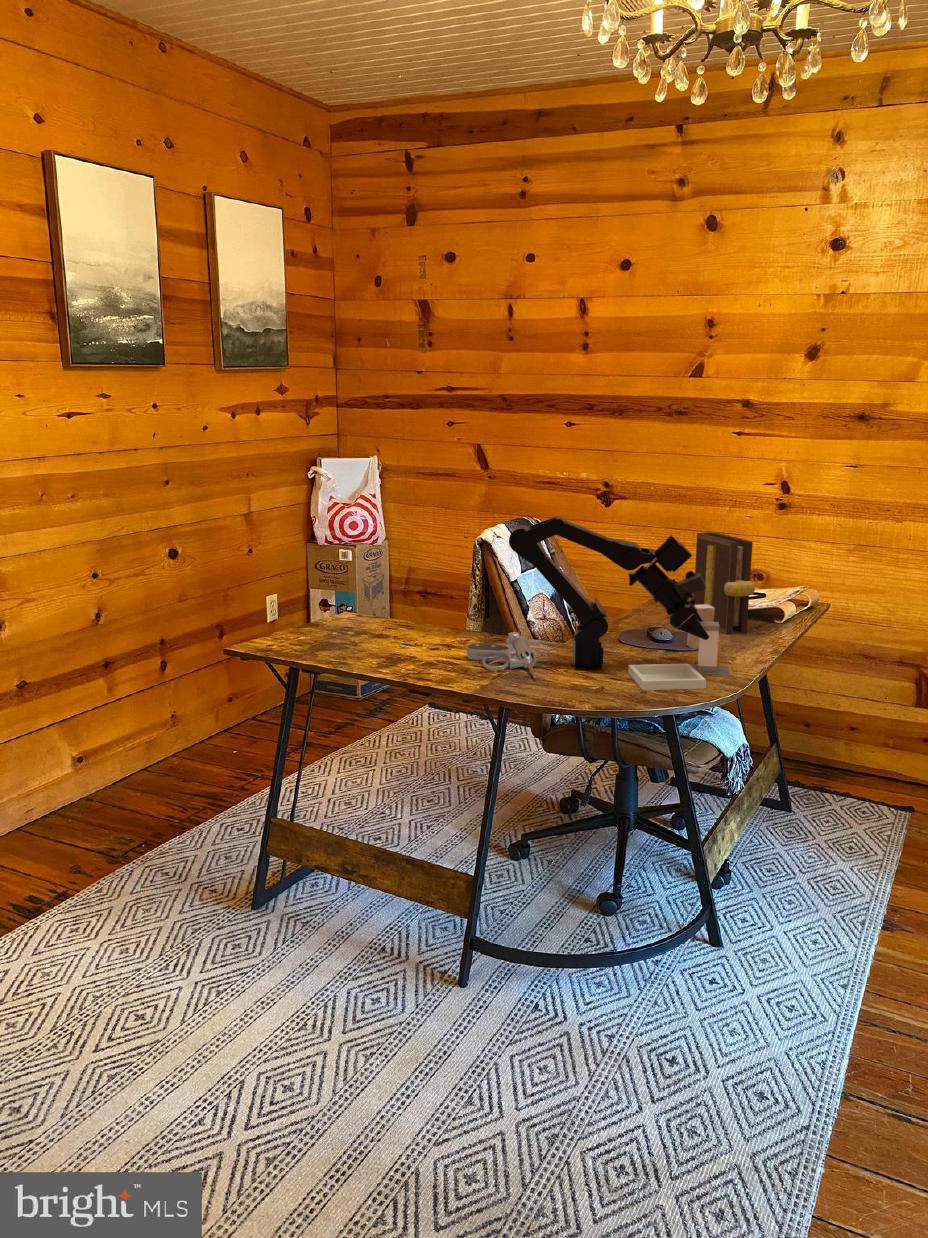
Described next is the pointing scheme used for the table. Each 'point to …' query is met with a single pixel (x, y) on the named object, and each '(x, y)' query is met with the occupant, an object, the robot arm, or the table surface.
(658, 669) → the parts tray
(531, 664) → the toy pistol
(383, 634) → the table surface
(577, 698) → the table surface
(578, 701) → the table surface
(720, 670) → the holder plate
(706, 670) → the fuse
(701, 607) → the box
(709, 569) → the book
